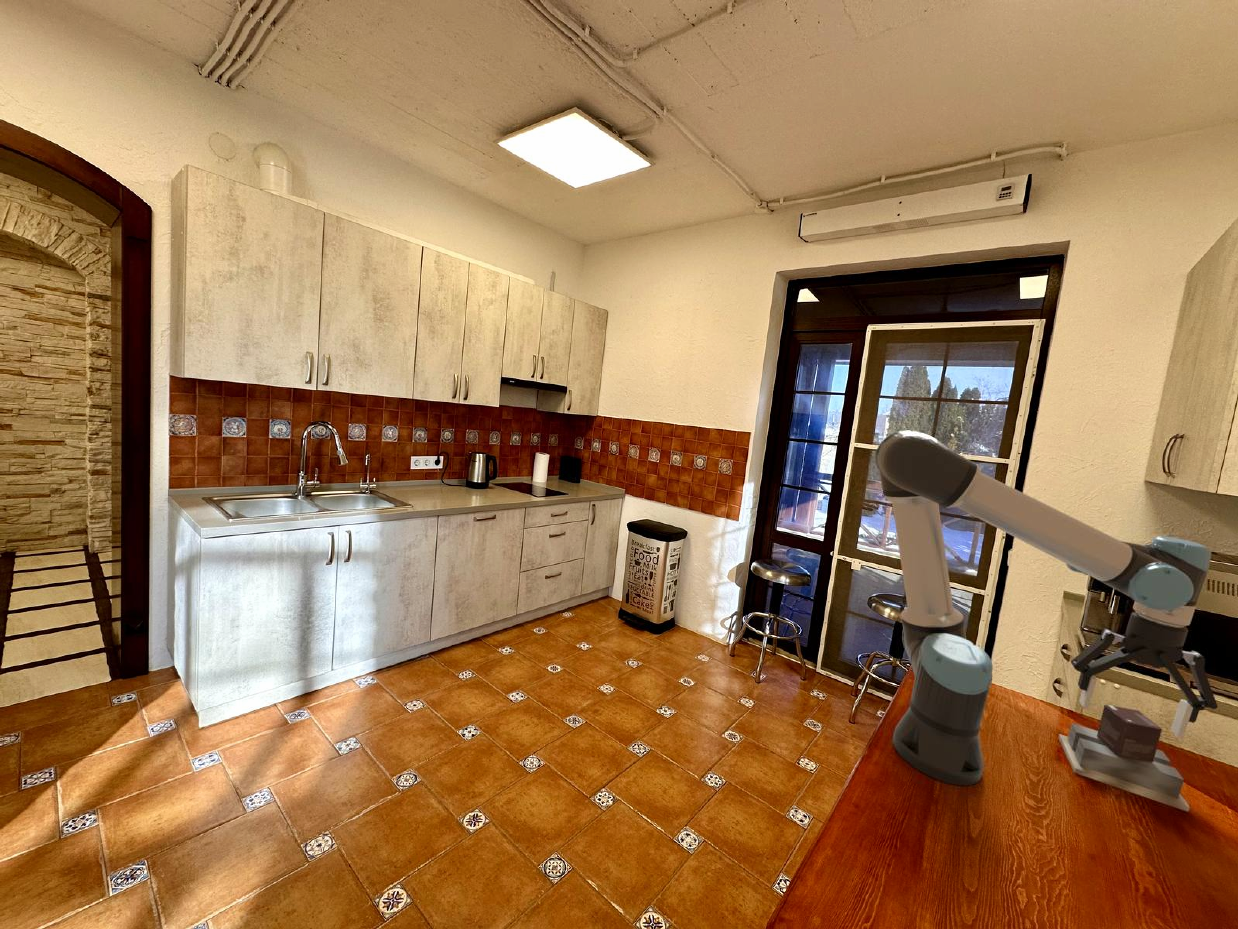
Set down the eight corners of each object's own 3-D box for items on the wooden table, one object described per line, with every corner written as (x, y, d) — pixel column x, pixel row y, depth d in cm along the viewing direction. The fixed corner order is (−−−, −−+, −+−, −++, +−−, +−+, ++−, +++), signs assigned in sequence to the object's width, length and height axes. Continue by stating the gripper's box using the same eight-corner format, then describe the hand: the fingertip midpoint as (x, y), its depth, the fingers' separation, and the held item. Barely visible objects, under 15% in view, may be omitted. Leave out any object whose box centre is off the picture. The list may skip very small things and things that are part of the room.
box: (1153, 764, 96) (1164, 729, 95) (1116, 756, 97) (1126, 722, 96) (1130, 743, 102) (1139, 710, 101) (1095, 736, 103) (1103, 703, 102)
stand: (1074, 772, 99) (1080, 749, 98) (1058, 738, 110) (1063, 717, 109) (1188, 812, 92) (1195, 787, 91) (1159, 771, 102) (1166, 748, 101)
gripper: (1080, 605, 98) (1052, 703, 102) (1269, 650, 86) (1230, 759, 90) (1069, 593, 104) (1043, 685, 108) (1243, 633, 93) (1208, 736, 96)
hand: (1128, 719), depth 99 cm, fingers open, 13 cm apart
